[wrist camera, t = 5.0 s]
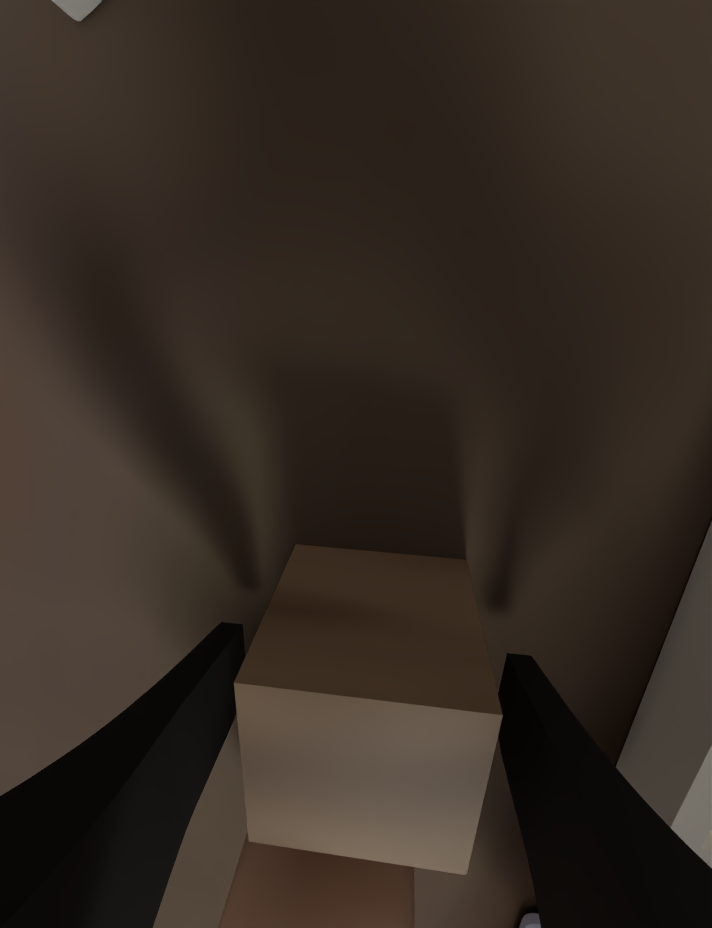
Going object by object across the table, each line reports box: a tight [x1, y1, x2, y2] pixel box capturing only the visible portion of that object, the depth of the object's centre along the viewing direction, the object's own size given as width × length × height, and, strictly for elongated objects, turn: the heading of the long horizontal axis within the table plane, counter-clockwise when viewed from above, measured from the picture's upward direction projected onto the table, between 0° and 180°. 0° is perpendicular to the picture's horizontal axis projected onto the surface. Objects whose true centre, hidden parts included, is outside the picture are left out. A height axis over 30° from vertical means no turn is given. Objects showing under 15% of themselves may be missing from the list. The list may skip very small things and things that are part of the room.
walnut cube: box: [234, 544, 503, 875], centre depth 11 cm, size 5×5×5 cm
